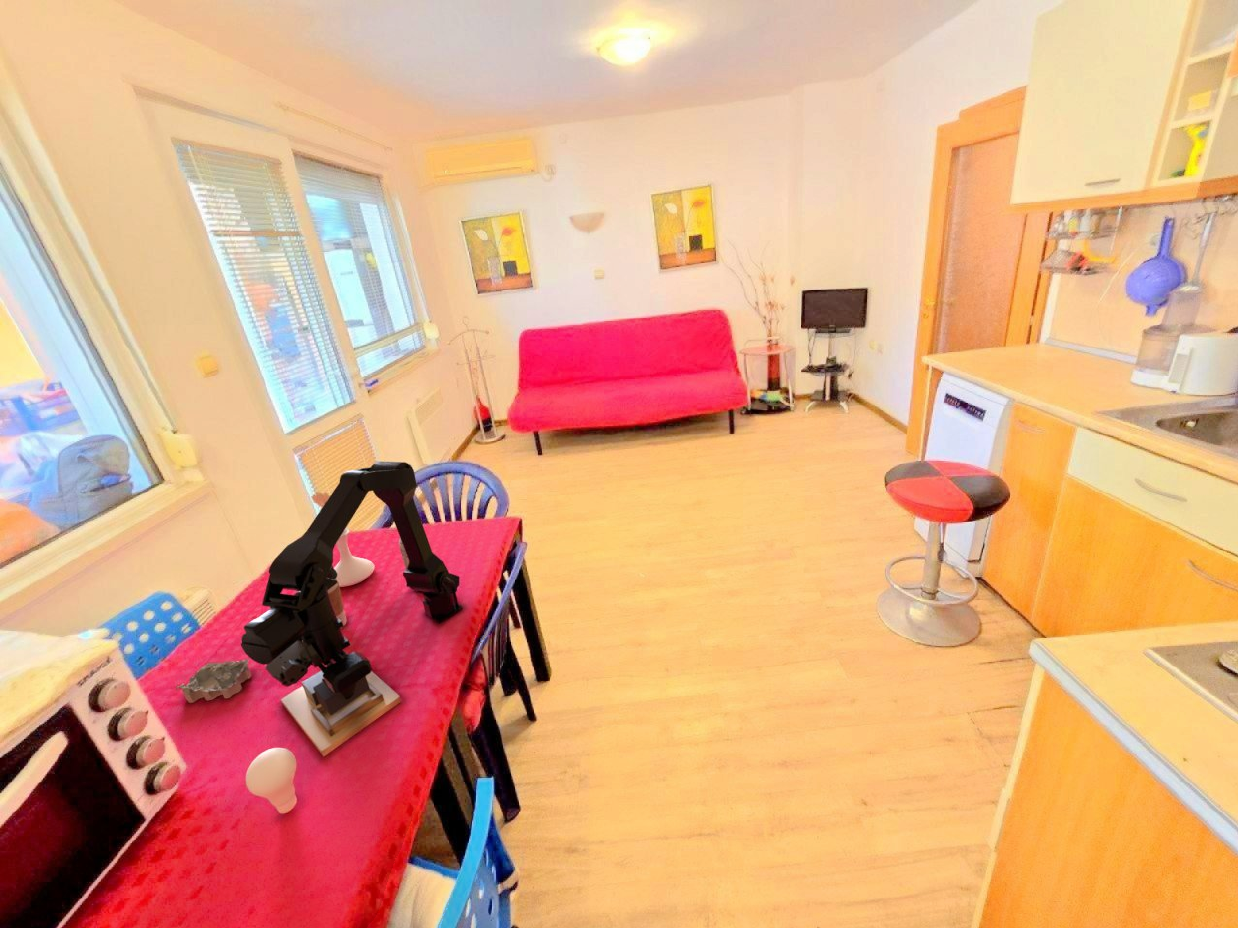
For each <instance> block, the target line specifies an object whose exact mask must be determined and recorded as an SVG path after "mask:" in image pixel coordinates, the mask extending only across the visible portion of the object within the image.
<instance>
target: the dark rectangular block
mask: <svg viewBox="0 0 1238 928" xmlns="http://www.w3.org/2000/svg"><path fill="white" fill-rule="evenodd" d="M313 689H314V692H315V694H316V697H317V699H318V701H319V703H320V704H321V705H322V706H323V707H324V709H325V710H326V711H327V712H328V713H329V714H330V715H333V714H334V713H336V712H337V711H339V710H340V709H342V708H343V707H344V706H346V705H347V704H349V703H350V702H352V701H353V700H355V699H356V698H358V697H359V696H361V695H362V694H364V693H365V692H367V691H368V690H370V688H369V685H368V682H367V679H366V676H365V677H363V678H362V679H360V680H359V681H357V682H356V686H355V690H354V694H353V697H351V698H350V699H348V700H347V699H346V698H345V697H344V696H343V694H342V693H341V692H340V693H334V692H333V691H332V690H331V689H330V688H329V687H328V686H327V685H326V684H325V683H324V682H321V683H320V684H318V685H316V686H315V687H313Z"/></svg>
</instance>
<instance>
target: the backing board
mask: <svg viewBox="0 0 1238 928" xmlns="http://www.w3.org/2000/svg"><path fill="white" fill-rule="evenodd" d="M323 674H324V673H323V672H322V671H321V670H320V671H318V672H316V673H314V674H312V675H311V676H310V677H308V678H306V679H305V680H303V681H301V685H302V686H300V687H298V688H297V689H295V690H293V691H292V692H290V693H289V694H287V695H285V696H284V697H281V698H280V699H279V700H280V702H281V705H282V706H283V707H284V708H285V709H286V711H287V712H288V714H289V715H290V716H291V717H292V718H293V720H294V721H295V723H297V725H298V726H299V727H300V729H301V730H302V731H303V733H304V734H305V735H306V736H307V738H308V739H309V740H310V742H311V743H312V744H313V745H314V746H315V748H316V749H317V750H318V752H319V753H320V754H321V755H322V757H325V756H327V755H328V754H330V753H331V752H333V751H334V750H335V749H336V748H338V747H339V746H341V745H343V744H344V743H345V742H346V741H348V740H349V739H350V738H352V737H353V736H355V735H356V734H358V733H359V732H361V731H362V730H363V729H365V728H366V727H368V726H369V725H370V724H372V723H373V722H375V721H376V720H377V719H378V718H380V717H382V716H383V715H384V714H386V713H387V712H389V711H390V710H391V709H393V708H394V707H396V706H397V705H398V704H400V703H402V698H401V696H400V695H399V694H398V693H397V692H396V691H395V690H394V689H393V688H391V687H390V686H389V685H388V684H387V683H386V682H385V681H384V680H382V679H381V678H380V677H379V676H378V675H377V674H376V673H375V672H374V671H373V670H372V671H371V673H370V674H368V675H366V679H367V682H368V685H369V688H370V690H368V691H367V692H365V693H364V694H362V695H361V696H359V697H358V698H356V699H355V700H353V701H352V702H350V703H349V704H347V705H346V706H344V707H343V708H342V709H340V710H339V711H337V712H336V713H334V714H333V715H330V714H329V713H328V712H327V711H326V710H325V709H324V707H323V706H322V705H321V704H320V703H319V701H318V699H317V697H316V694H315V692H314V689H313V687H315V686H316V685H318V684H320V683H321V682H323V681H322V679H324V678H323Z"/></svg>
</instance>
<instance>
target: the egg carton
mask: <svg viewBox="0 0 1238 928" xmlns="http://www.w3.org/2000/svg"><path fill="white" fill-rule="evenodd" d="M249 661H250V657H249V658H246V659H243V660H239V661H238V660H236V661H234V660H230V661H223V662H208V663H206V664H204V665H203V666H201V667H200V668H199V670H198V671H197V670H196V671H195V673H194V675H193V676H190V677H189V680H188V681H189V682H188V683H187V684H185V683H182V684H180V685H177V686H175V690H181V692H182V695H183V696H184V698H185V699H186V700H187V702H188V703H189V704H192V703H195V702H196V701H198V700H199V699H203V698H204V699H205V700H206V701H211V700H214V699H215V698H216V697H217V698H218V697H219V696H223V699H229V698H231V697H232V696H234V695H235V694H238V693H240V692H241V691H242V690H243V687H242V685H241V684H242V683H244V682H245V681H246V680H249V679H250V678H251V677H252V673H251V672H252V671H251V670H250V667H249V666H248V665H249Z"/></svg>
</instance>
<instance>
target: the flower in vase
mask: <svg viewBox="0 0 1238 928" xmlns="http://www.w3.org/2000/svg"><path fill="white" fill-rule="evenodd" d="M330 496H331V494H329V493H328V492H323V493H321V492H320V491H319V492H315V494H312V495H311V497H310V498H311V499H312V502H313V503H314V504H317V506H319V507H321V508H323V506H324V505H325V503H326V502H327V500H328V499H329V497H330ZM349 534H350V529H349V528H345V530H344V532H343V533H342V535H341V536H340V538H339V539H338V541H337V543H336V544H335V546H336V547H337V549H338V551H339V555H340V560H339V562H338V563H337V564H336V565H335V566H333V568H334V569H335V570H336V572H337V581H338V583H339V587H340V588H345V587H350V586H354V585H356V584H359V583H361V582H363V581H364V580H366V579H368V578H369V577H370V576H371V575H372V574H373V573H374V571H375V567H376V565H375V564H374V563H373V562H372V561H371V560H369V559H367V558H363V557H358V556H354V555H352V553H351V550H350V548H349V543H348V535H349Z"/></svg>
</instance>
